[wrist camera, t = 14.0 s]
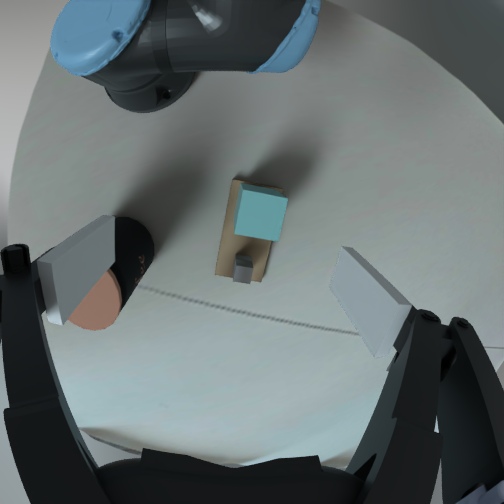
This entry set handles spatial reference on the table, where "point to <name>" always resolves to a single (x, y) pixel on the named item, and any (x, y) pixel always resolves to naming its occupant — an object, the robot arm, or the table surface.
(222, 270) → the stand
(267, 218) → the teal rectangular block
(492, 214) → the table surface
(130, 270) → the coffee jar
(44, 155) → the table surface
